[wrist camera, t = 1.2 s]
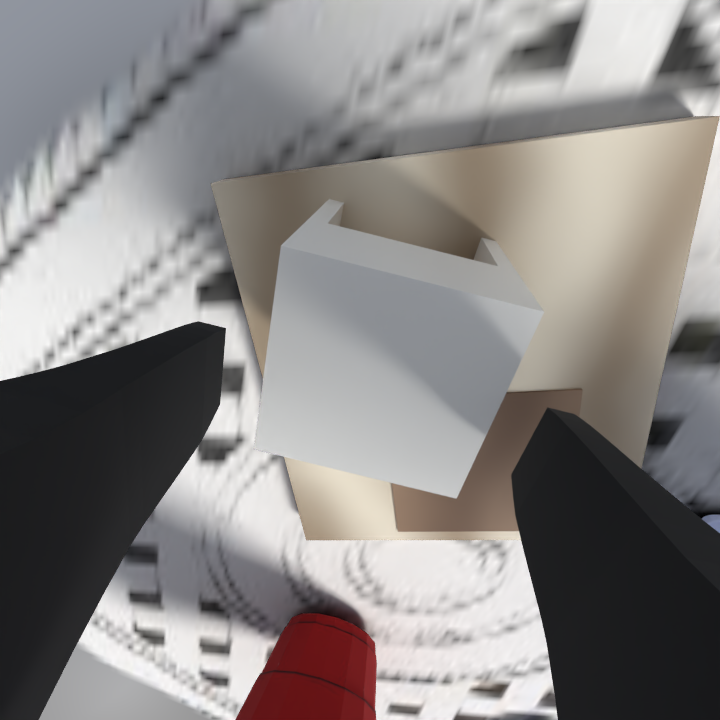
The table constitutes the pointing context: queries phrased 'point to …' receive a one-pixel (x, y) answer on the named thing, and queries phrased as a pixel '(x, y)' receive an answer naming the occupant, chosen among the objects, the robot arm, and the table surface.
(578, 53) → the table surface
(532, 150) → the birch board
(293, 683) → the plastic cup
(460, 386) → the white tabletop archway
